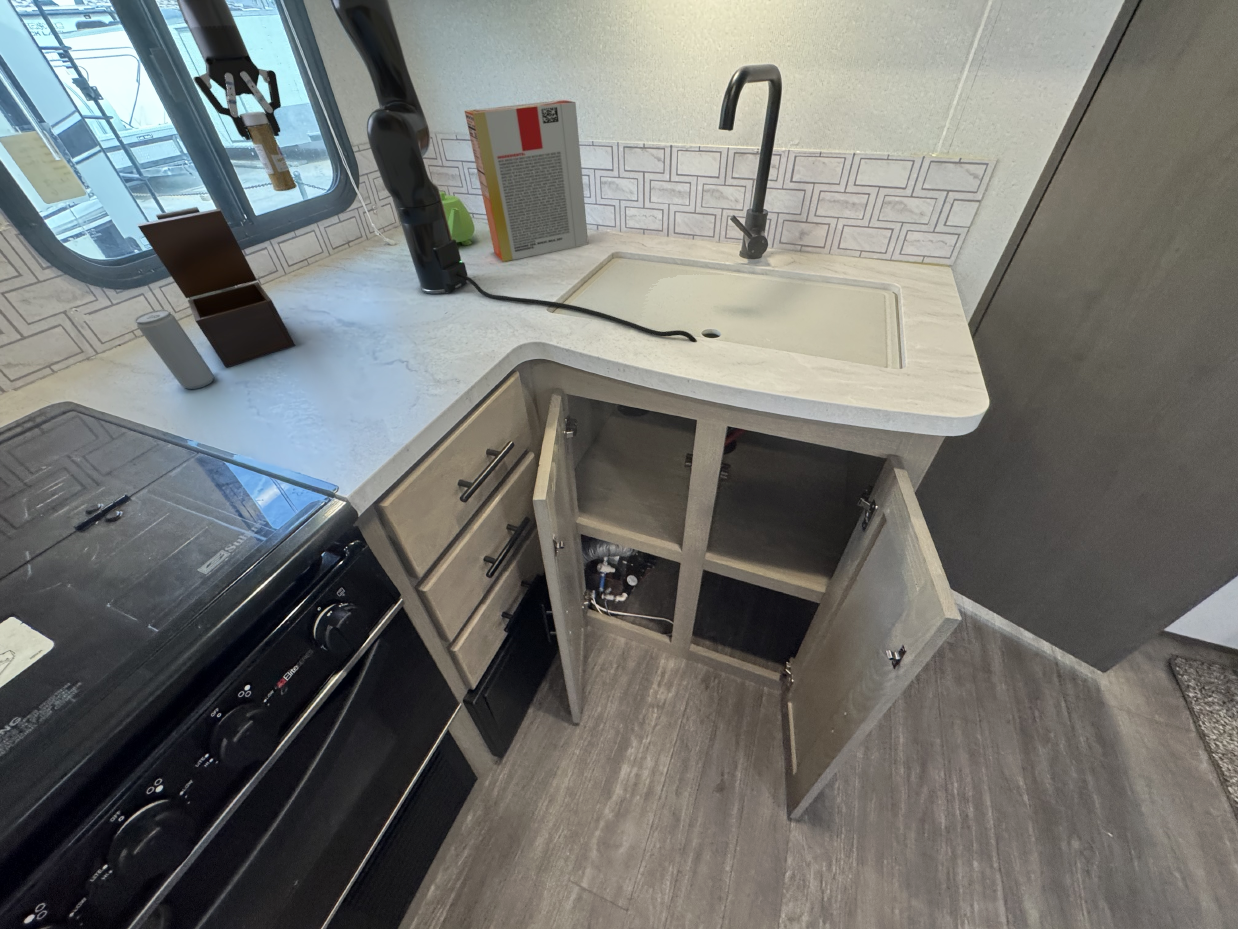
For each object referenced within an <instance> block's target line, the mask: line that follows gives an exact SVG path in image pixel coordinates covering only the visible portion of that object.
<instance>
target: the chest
mask: <svg viewBox="0 0 1238 929" xmlns="http://www.w3.org/2000/svg"><path fill="white" fill-rule="evenodd" d="M235 287H236V288H232V289H228V290H224V291H220V292H216V293H212V294H208V295H204V296H201V297H197V298H193V299H189V298H188V299H187V303H188V306H189V308H190V311H191V313H192V316H193V319H194V321H195V323H196V324H197V326H198V327H199V329H200V330H201V332H202V334H203V335H204V337H205V338H206V340H207V341H208V342H209V344H210V346H211V348H212V349H213V351H214V352H215V354H216V355H217V356H218V358H219V359H220V361H221V363H222V364H223V366H224V367H225V368H230V367H232V366H236V365H239V364H242V363H246V362H248V361H252V360H254V359H258V358H260V357H265V356H267V355H269V354H274V353H276V352H279V351H282V350H286V349H289V348H292V347H296V344H295V341H294V340H293V338H292V336H291V334H290V332H289V330H288V328H287V327H286V326H287V325H285V323H284V321H283V319H282V317H281V315H280V313H279V311H278V309H277V308H276V306H275V304H274V301H273V300H272V299H271V297H270V296H269V295H268V293H267V292H266V291H265V289H264V288H263V287H262V285H261V283H259V281H254V282H250V283H246V284H243V285H239V286H235Z"/></svg>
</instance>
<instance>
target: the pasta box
mask: <svg viewBox="0 0 1238 929" xmlns="http://www.w3.org/2000/svg"><path fill="white" fill-rule="evenodd" d="M576 103H577V102H576V101H571V100H565V99H558V100H548V101H539V102H532V103H522V104H513V105H511V104H510V105H503V106H494V107H486V108H485V107H484V108H478V109H477V108H475V109H466V110H464V115H465V120H466V124H467V131H468V134H469V135H468V136H469V139H470V144H471V148H472V153H473V158H474V163H475V168H476V173H477V177H478V182H479V187H480V190H481V196H482V201H483V205H484V210H485V215H486V219H487V225H488V229H489V234H490V239H491V244H492V247H493V253H494V254H495V255H496V257H497V258H498V259H499V260H500V261H501V262H502V263H504V262H509V261H514V260H519V259H523V258H528V257H533V256H538V255H543V254H544V255H545V254H548V253H553V252H557V251H564V250H567V249H568V250H569V249H573V248H578V247H583V246H587V245H589V236H588V225H587V214H586V203H585V190H584V183H583V182H584V181H583V180H584V179H583V170H582V161H581V160H582V158H581V148H580V137H579V136H580V135H579V127H578V126H579V124H578V115H577V114H578V113H577V104H576Z"/></svg>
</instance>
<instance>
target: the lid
mask: <svg viewBox="0 0 1238 929" xmlns="http://www.w3.org/2000/svg"><path fill="white" fill-rule="evenodd" d="M155 217H156V218H157V219H155V220H152V221H146V222H140V223H136V226H137V228H138V229H139V231H140V232H141V234H142V235H143V237H144V238H145V239H146V241H147V242H148V244H149V245H150V247H151V249H152V250H153V251H154V253H155V255H156V256H157V257H158V258H159V260H160V261H161V263H162V264H163V267H164V268H165V269H166V272H168V274H169V275H170V277H171V278H172V280H173V282H174V283H175V285H177V287H178V289H179V291H180V292H181V293H182V294H183V296H184V298H185V299H189V298H190V297H194V296H198V295H202V294H206V293H209V292H213V291H217V290H221V289H225V288H229V287H233V286H235V287H238V286H242V285H246V284H250V283H254V282H258V280H257V277H256V276H255V273H254V272H253V269H252V267H251V266H250V264H249V262H248V260H247V258H246V256H245V254H244V252H243V251H242V248H241V246H240V245H239V242H238V240H237V239H236V237H235V235H234V233H233V231H232V228H231V227H230V225H229V223H228V221H227V220H226V217H225V215H224V214H223V212H222V210H221V208H215V209H209V210H204V211H200V210H199V207H198V206H194V207H189V208H184V209H179V210H172V211H167V212H162V213H157V214H155Z"/></svg>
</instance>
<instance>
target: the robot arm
mask: <svg viewBox="0 0 1238 929" xmlns="http://www.w3.org/2000/svg"><path fill="white" fill-rule="evenodd" d="M176 3H177V6H178V8H179V11H180V13H181V15H182V18H183V21H184V23H185V24H186V26H187V28H188V30H189V32H190V34H191V37H192V38H193V41H194V43H195V45H196V46H197V49H198V51H199V53H200V55H201V57H202V59H203V62H204V64H205V72H206V73H203V74H200V75H198V76H193V77H192V79H193V82H194V84H195V85H196V86H197V87H198V89H199V90H200V91H201V93H202V94H203V95H204V97H205V98H206V99H207V100H208V102H209V103H210V104H211V106H212V107H213V108H214V110H215V112H217V113H218V114H220V115H223V116H228V117H229V118H230V119H231V121H232V122H233V125H234V127H235V129H236V131H237V133H238V135H239V136H240V137H241V138H244V139H245V141H252V140H251V138H250V136H249V134H248V132H247V129H246V127H245V125H244V123H243V121H242V119H241V117H240V116H239V115H240V114H239V110H238V104H237V102H238V101H237V97H238V96H241V95H251V96H252V97H253V98H254V100H255V101H256V102H257V103H258V105H259V106H260V107H261V108H262V110H263V112H264V113H265V114H266V116H267V119H268V121H269V123H268V124H269V125H270V128H271V130H272V133H273V135H274V137H280V133H281V127H280V125H279V122H278V120H277V118H276V115H275V111H276V110H278V109H280V108H281V107H282V103H281V97H280V91H279V85H278V80H277V74H276V72H275V71H273V70H272V69H262V68H258V66H257V65H256V64H255V63H254V62H253V60H252V59H251V56H250V54H249V52H248V49H247V47H246V44H245V42H244V40H243V37H242V35H241V32H240V30H239V28H238V26H237V23H236V20H235V19H234V16H233V14H232V12H231V9H230V7H229V5H228V3H227V1H226V0H176ZM329 3H330V5H331V8H332V10H333V12H334V15H335V17H336V18H337V20H338V22H339V24H340V26H341V28H342V29H343V31H344V33H345V34H346V36H347V38H348V39H349V41H350V42H351V44H352V45H353V47H354V50H355V51H356V52H357V53H358V55H359V57H360V58H361V61H362V63H363V64H364V66H365V68H366V70H367V72H368V75H369V77H370V80H371V83H372V85H373V90H374V92H375V96H376V99H377V103H378V106H379V107H378V108H376V109H375V110H373V111H372V112H371V113H370V114H369V116H368V118H367V121H366V136H367V140H368V144H369V148H370V150H371V154H372V156H373V159H374V162H375V165H376V167H377V170H378V172H379V176H380V178H381V180H382V183H383V186H384V188H385V189H386V191H387V192H388V194H389V196H390V197H391V198H392V201H393V204H394V206H395V210H396V213H397V216H398V219H399V223H400V226H401V229H402V233H403V235H404V238H405V241H406V245H407V248H408V251H409V255H410V257H411V260H412V263H413V267H414V269H415V273H416V276H417V279H418V282H419V286H420V289H421V291H422V292H423V293H425V294H430V295H432V294H433V295H436V294H437V295H438V294H452V293H453V292H455V291H457V290H458V289H460V288H462V287H463V286H465V285H467V284H468V283H469V284H471V285H472V286H473V287H474V288H475V289H476V290H477V292H479V294H481V295H482V296H484V297H486V298H488V299H492V300H500V301H508V302H513V303H523V304H525V303H526V304H534V305H542V306H549V307H554V308H561V309H567V310H571V311H576V312H580V313H585V314H588V315H591V316H594V317H598V318H601V319H606V320H608V321H611V322H614V323H618V324H619V325H624V326H627V327H629V328H632V329H635V330H638V331H640V332H642V333H646V334H649V335H651V336H652V335H653V336H656V337H675V336H681V337H684V338H687V339H688V340H689V341H690V342H691V343H697V342H698V340H697V339H696V338H695V336H694V335H693V334H691V333H689V331H685V330H681V329H680V330H679V329H678V330H668V331H663V330H662V331H661V330H656V329H653V328H648V327H646V326H642V325H639V324H637V323H634V322H631V321H628V320H625V319H622V318H619V317H617V316H613V315H611V314H607V313H603V312H601V311H597V310H593V309H591V308H585V307H581V306H577V305H573V304H567V303H562V302H557V301H550V300H542V299H536V298H526V297H525V298H524V297H514V296H507V295H499V294H491V293H489V292H487V291H485V290H484V289H482V288H481V286H480V285H479V284H478V283H477V282H476V281H475V280H474V279H473V278H471V277H470V276H469V274H468V272H467V271H468V270H467V266H466V263H465V262H463V261H462V258H461V254H460V250H459V246H458V242H456V240H455V239H452V237H451V233H450V229H449V225H448V222H447V218H446V214H445V210H444V206H443V202H442V199H441V195H440V187H439V186H438V184H437V183H436V182H434V181H432V179H431V178H430V176H429V174H428V171H427V169H426V164H425V161H424V158H423V157H425V156H426V155H427V154H428V152H429V149H430V147H431V132H430V127H429V124H428V120H427V118H426V115H425V112H424V109H423V107H422V105H421V102H420V100H419V97H418V93H417V90H416V88H415V85H414V83H413V81H412V78H411V75H410V71H409V69H408V65H407V62H406V58H405V54H404V50H403V46H402V43H401V39H400V35H399V32H398V28H397V24H396V22H395V18H394V14H393V11H392V7H391V3H390V0H329ZM260 77H261V78H262V80H263V82H264V83H266V84H267V87H268V93H269V99H270V101H269V102H268V100H267V99H266V97H265V96H264V94H263V93H262V92H261V91H260V89H259V87H258V83H259V79H260ZM211 80H212V81H213V82H214V83H215V84H216V85H218V86H219V87H220V88H221V89H222V90H223V91H224V96H225V101H226V105H227V107H225V106H223V105H222V103H221V102H220V100H218V98H217V97H216V96H215V93H213V91H212V87H213V85H212V84H211Z"/></svg>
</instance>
